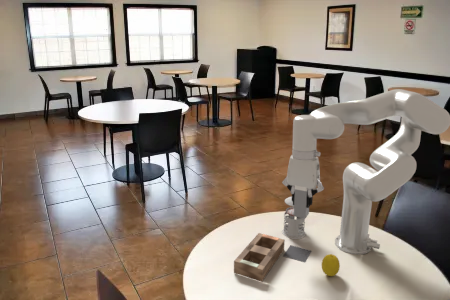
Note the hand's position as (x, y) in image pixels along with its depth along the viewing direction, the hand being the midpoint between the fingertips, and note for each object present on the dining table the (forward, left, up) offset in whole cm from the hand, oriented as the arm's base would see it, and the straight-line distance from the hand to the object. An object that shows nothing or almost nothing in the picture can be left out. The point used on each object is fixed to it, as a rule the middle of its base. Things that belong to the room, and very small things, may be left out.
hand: (301, 204), depth 128 cm
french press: (+6, -14, -20) cm, 25 cm away
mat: (0, 0, -19) cm, 19 cm away
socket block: (+10, +10, -19) cm, 24 cm away
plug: (0, 0, -4) cm, 4 cm away
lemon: (-13, +7, -20) cm, 24 cm away
